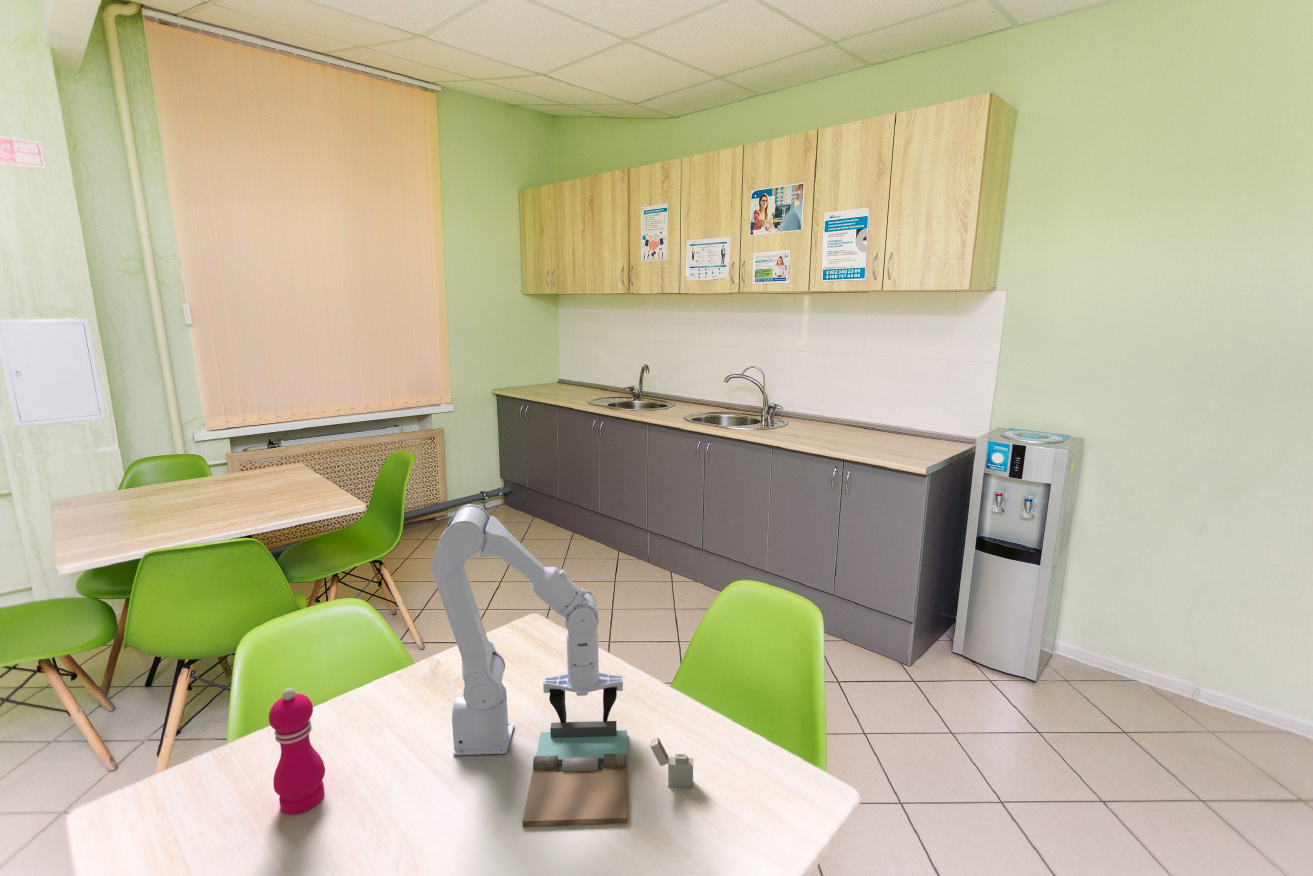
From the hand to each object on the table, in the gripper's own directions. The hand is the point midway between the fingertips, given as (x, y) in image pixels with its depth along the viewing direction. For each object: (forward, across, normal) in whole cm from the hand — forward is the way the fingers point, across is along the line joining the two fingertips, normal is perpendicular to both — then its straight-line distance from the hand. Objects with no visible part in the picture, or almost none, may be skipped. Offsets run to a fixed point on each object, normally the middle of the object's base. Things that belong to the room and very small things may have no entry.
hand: (584, 723), depth 117 cm
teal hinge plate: (+2, 0, -6) cm, 7 cm away
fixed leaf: (+2, 0, -15) cm, 15 cm away
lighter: (+2, +16, -14) cm, 21 cm away
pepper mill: (+2, -44, -15) cm, 47 cm away
